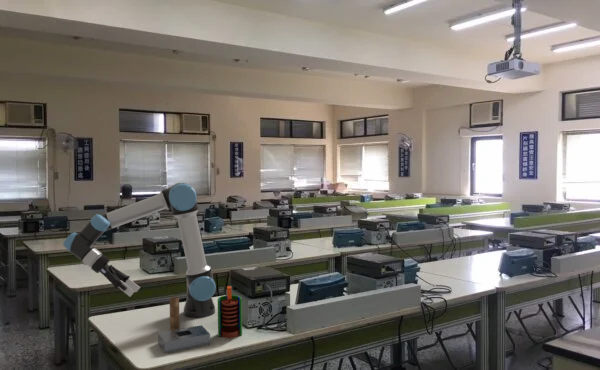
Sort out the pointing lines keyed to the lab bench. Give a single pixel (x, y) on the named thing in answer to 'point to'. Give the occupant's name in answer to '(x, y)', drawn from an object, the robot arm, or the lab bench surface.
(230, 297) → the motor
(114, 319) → the lab bench surface
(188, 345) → the hole block
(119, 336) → the lab bench surface
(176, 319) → the pin
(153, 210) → the robot arm
